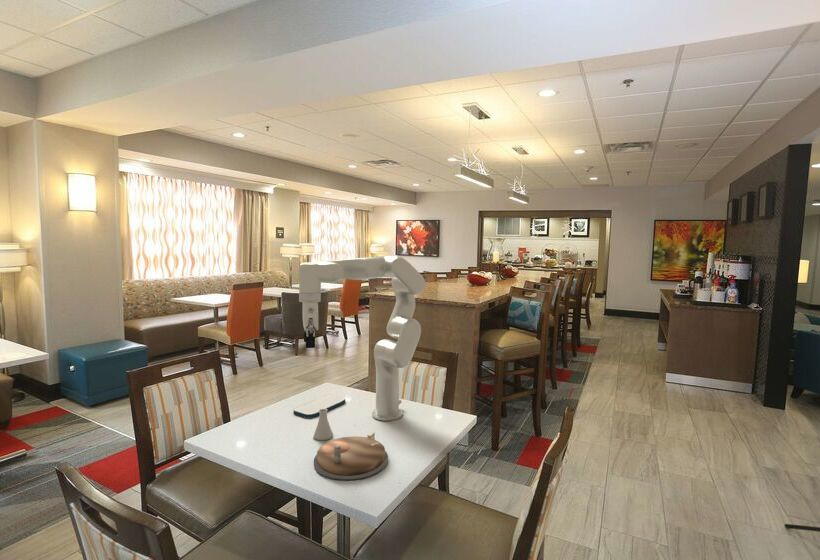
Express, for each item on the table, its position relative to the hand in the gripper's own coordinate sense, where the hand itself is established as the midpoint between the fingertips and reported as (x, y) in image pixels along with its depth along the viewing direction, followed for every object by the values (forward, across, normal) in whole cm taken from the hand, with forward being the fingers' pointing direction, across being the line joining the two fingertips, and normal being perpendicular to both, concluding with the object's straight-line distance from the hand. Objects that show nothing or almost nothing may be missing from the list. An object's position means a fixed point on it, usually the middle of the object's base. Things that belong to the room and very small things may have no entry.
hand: (309, 344), depth 154 cm
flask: (+35, 0, -5) cm, 35 cm away
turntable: (+33, -21, -12) cm, 41 cm away
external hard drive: (+35, +29, -7) cm, 46 cm away
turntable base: (+34, -20, -13) cm, 42 cm away
